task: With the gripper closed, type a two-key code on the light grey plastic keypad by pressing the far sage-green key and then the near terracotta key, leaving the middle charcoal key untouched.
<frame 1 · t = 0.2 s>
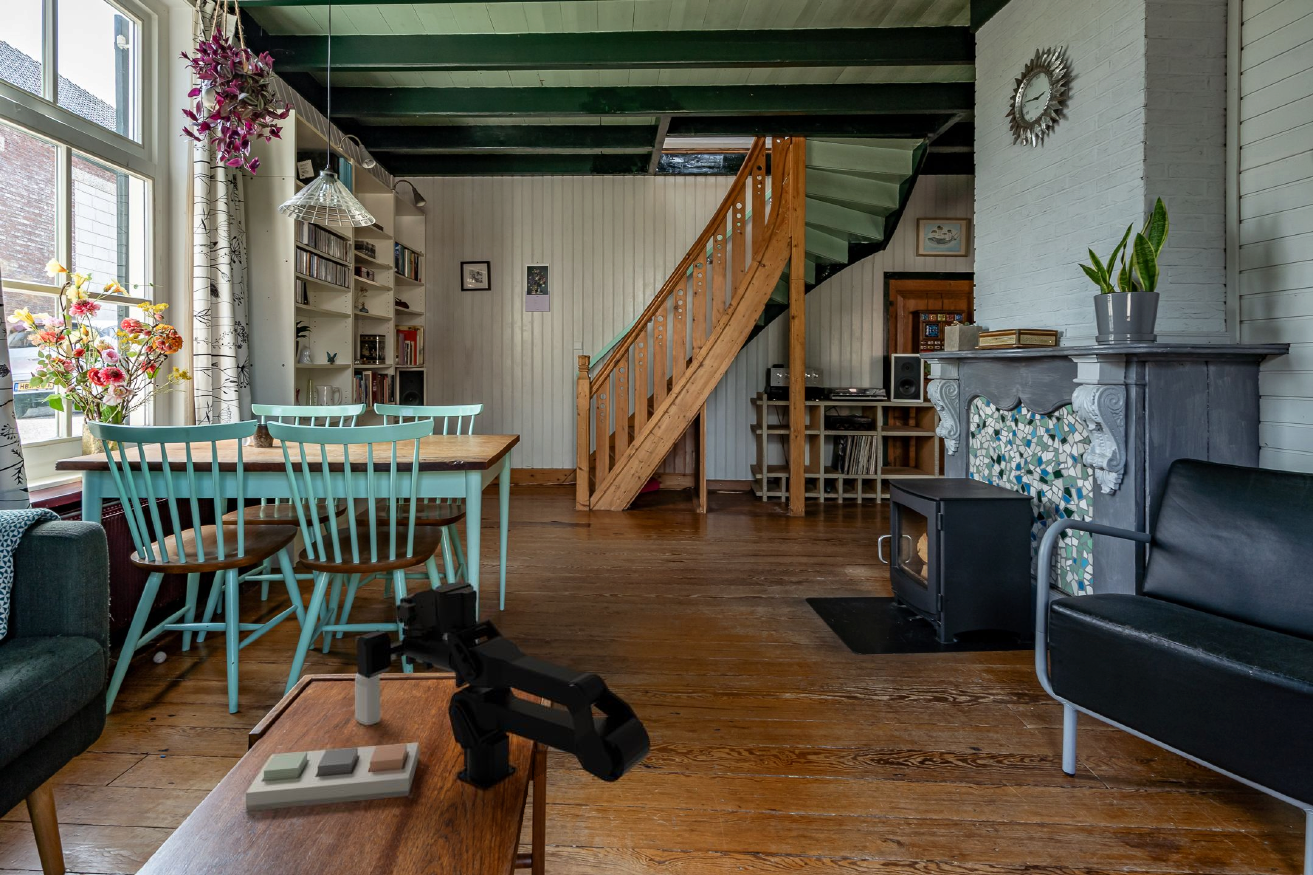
hand: (381, 631, 115), 17 cm above the table, tool horizontal, fingers open, 9 cm apart
sage key: (286, 767, 98), point 3 cm above the table, slide at 0.0 cm
terracotta key: (388, 758, 101), point 3 cm above the table, slide at 0.0 cm
charcoal key: (338, 763, 99), point 3 cm above the table, slide at 0.0 cm
keypad frame: (338, 782, 99), on the table
eye dropper bottle: (367, 720, 119), on the table
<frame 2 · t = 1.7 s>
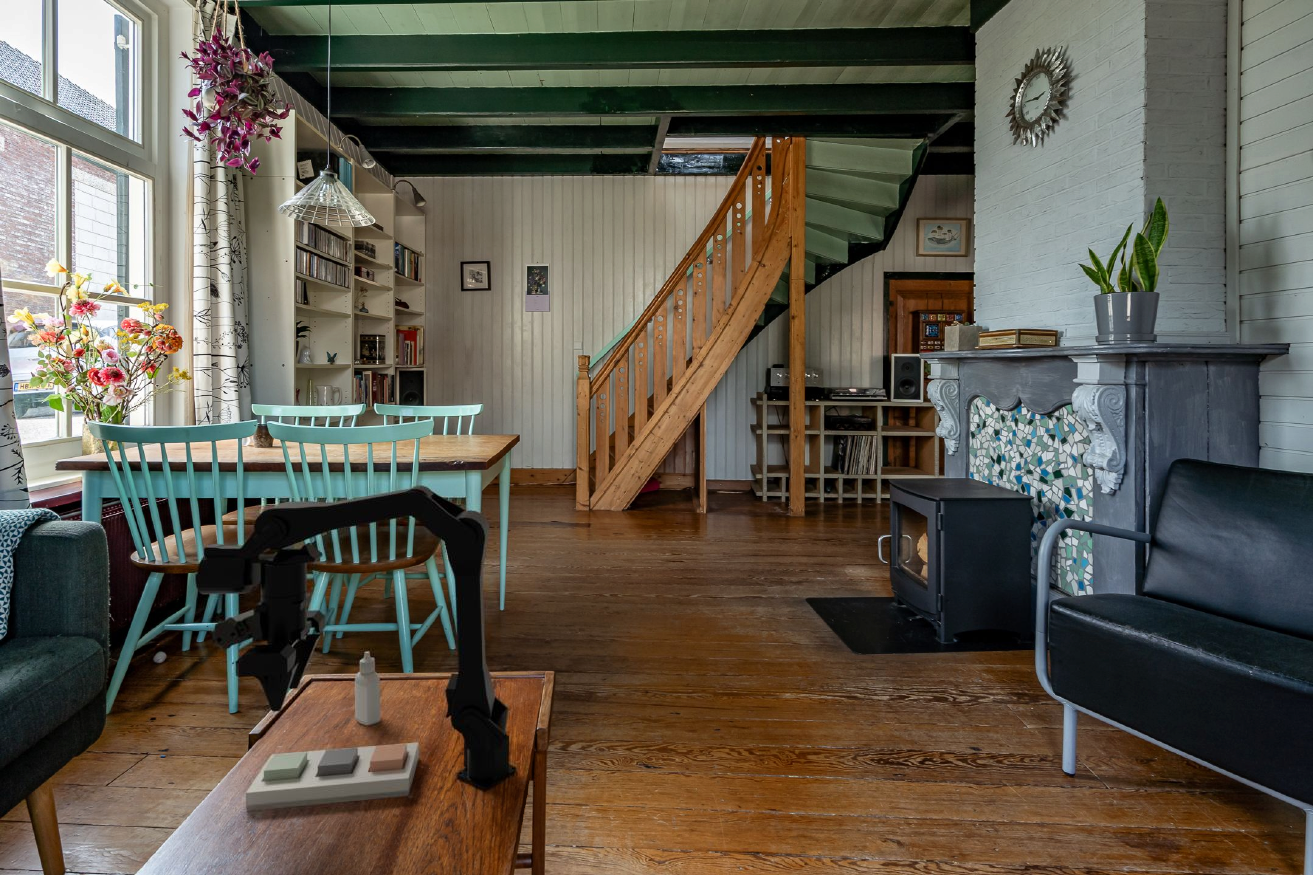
hand: (285, 699, 97), 13 cm above the table, tool pointing down, fingers open, 7 cm apart
nothing on the table moved.
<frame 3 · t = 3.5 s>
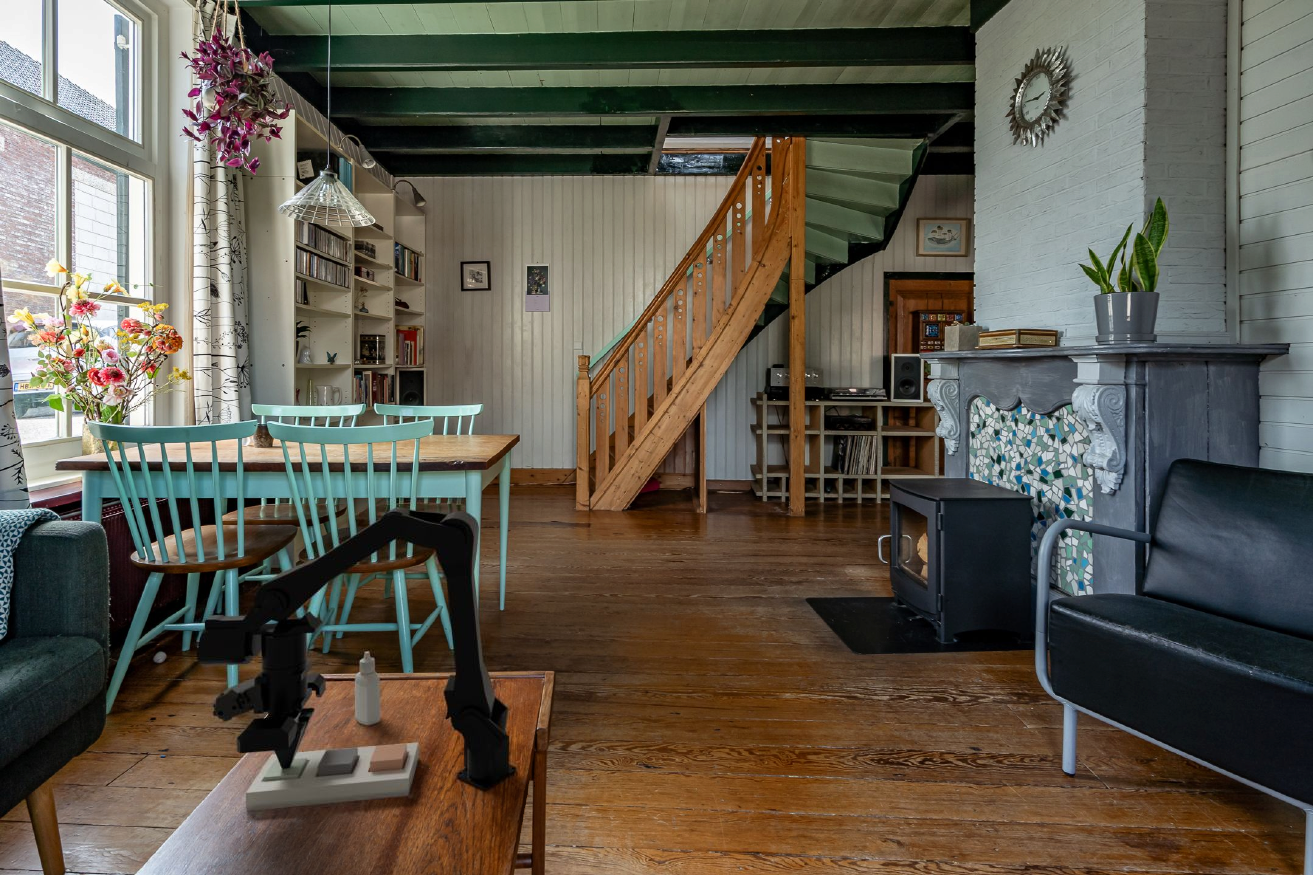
hand: (286, 767, 98), 3 cm above the table, tool pointing down, fingers closed, pressing on sage key
sage key: (286, 773, 98), point 2 cm above the table, slide at 1.0 cm, touching gripper
everything else where it was.
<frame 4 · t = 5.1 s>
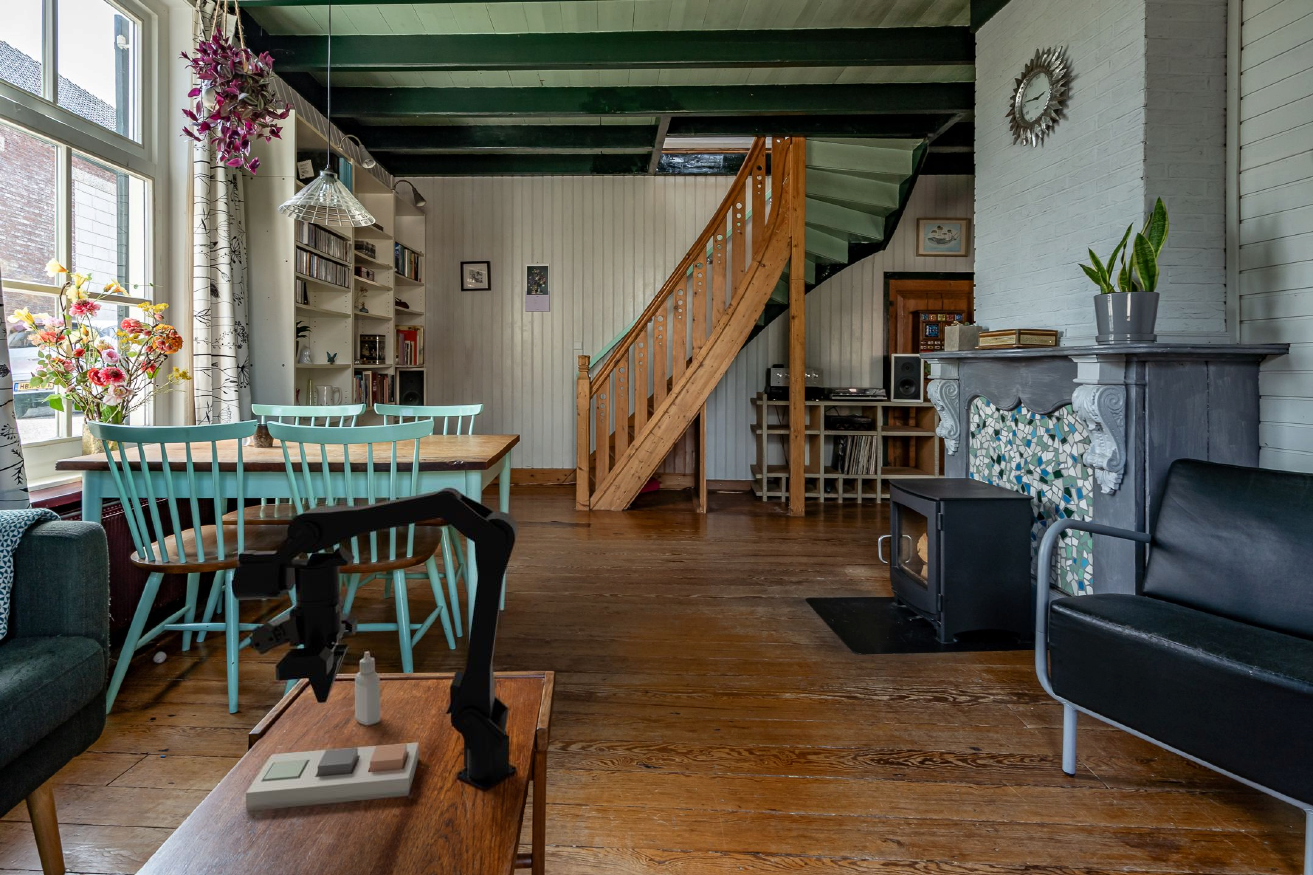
hand: (322, 701, 98), 12 cm above the table, tool pointing down, fingers closed
sage key: (286, 775, 98), point 2 cm above the table, slide at 1.2 cm
everything else where it was.
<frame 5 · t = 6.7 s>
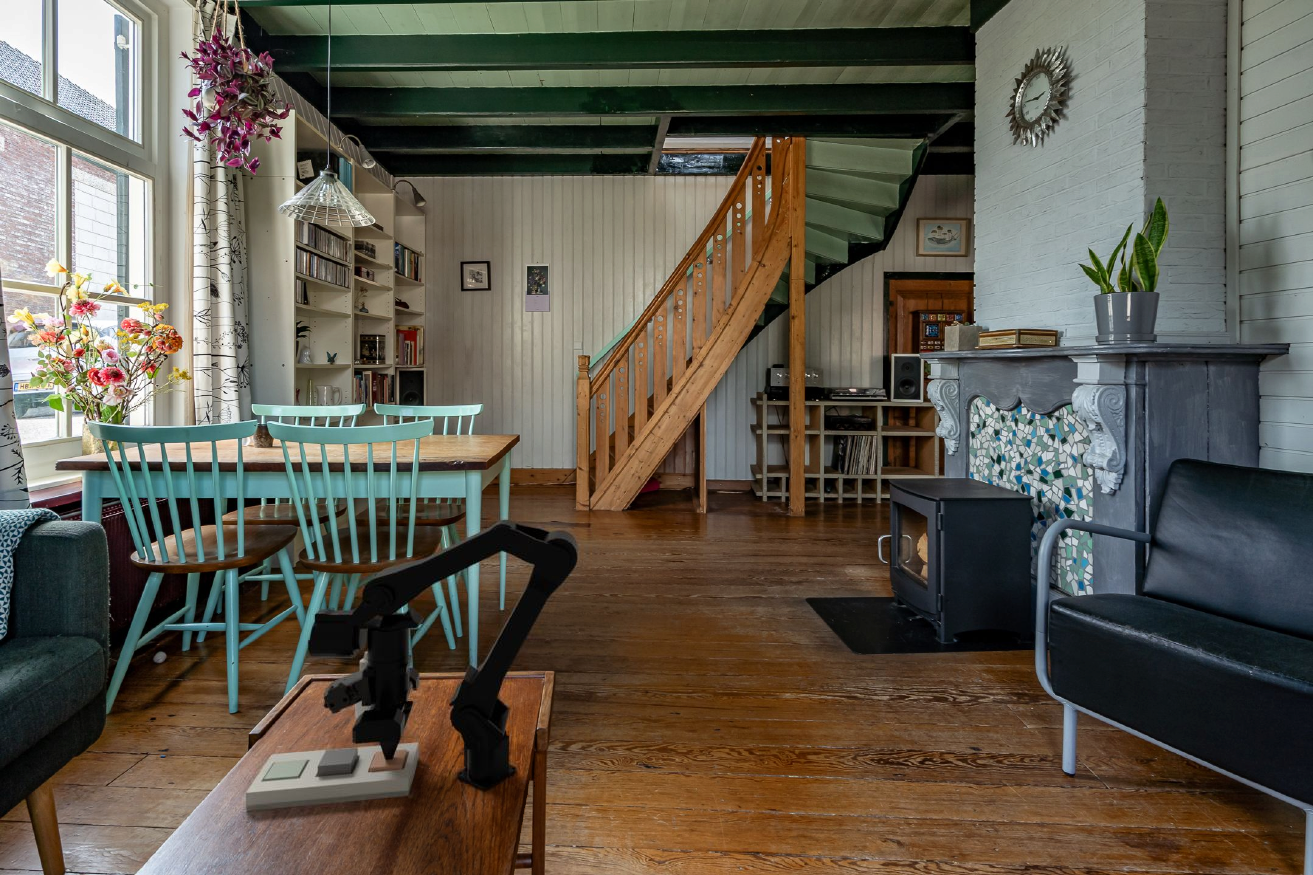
hand: (389, 758, 101), 3 cm above the table, tool pointing down, fingers closed, pressing on terracotta key
terracotta key: (388, 764, 101), point 2 cm above the table, slide at 0.9 cm, touching gripper
everything else where it was.
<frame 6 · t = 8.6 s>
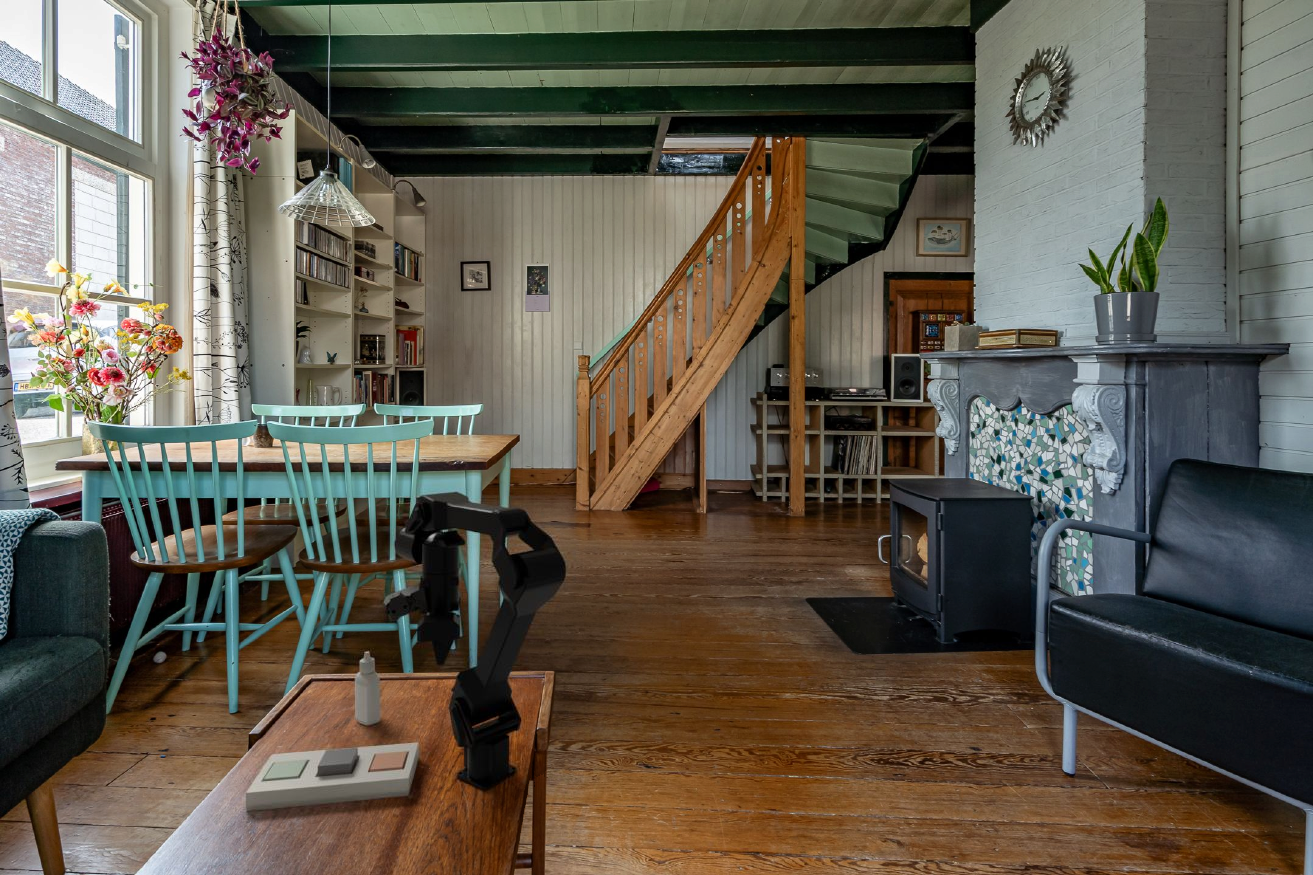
hand: (440, 664, 111), 13 cm above the table, tool pointing down, fingers closed
terracotta key: (388, 766, 101), point 2 cm above the table, slide at 1.2 cm
everything else where it was.
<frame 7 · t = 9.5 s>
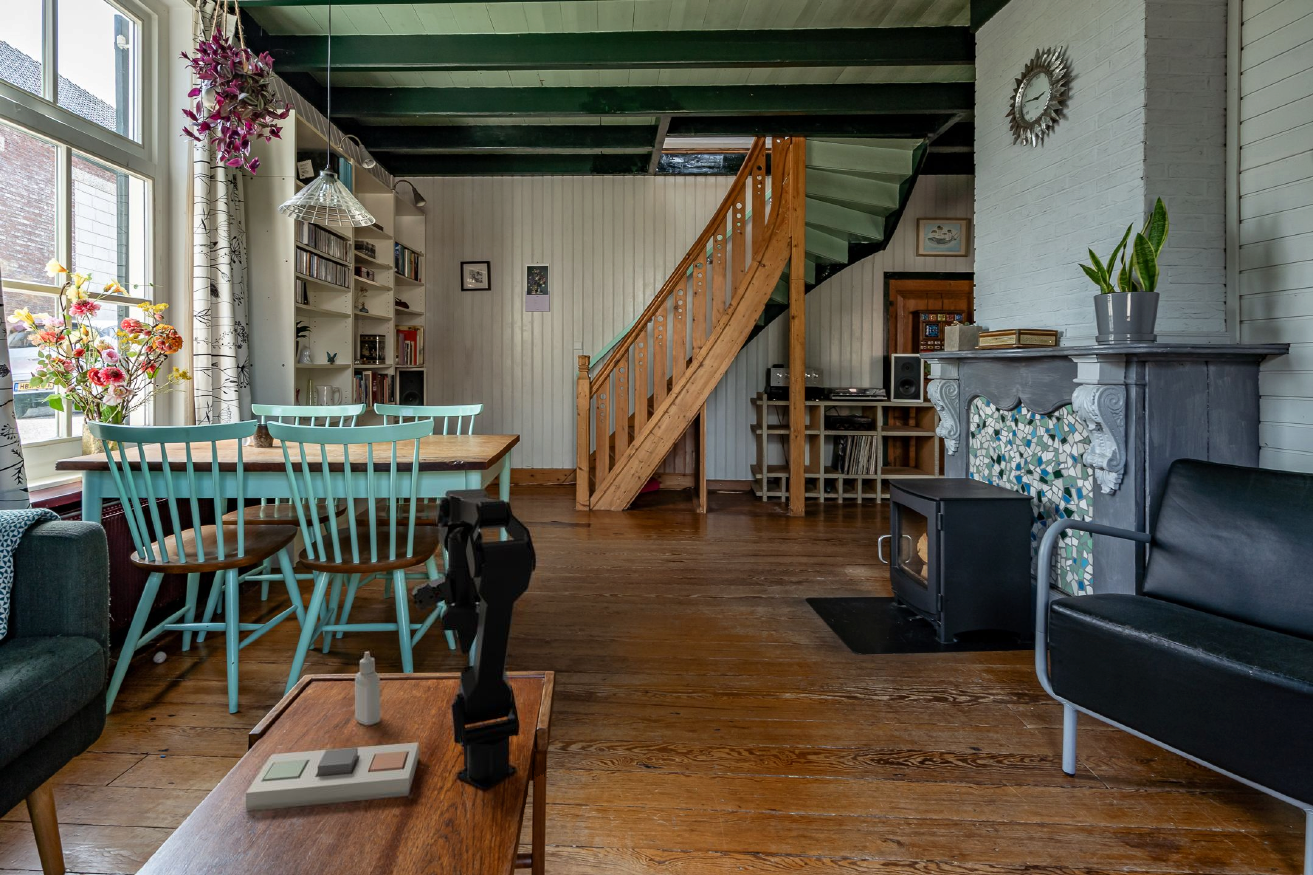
hand: (465, 653, 116), 13 cm above the table, tool pointing down, fingers closed
nothing on the table moved.
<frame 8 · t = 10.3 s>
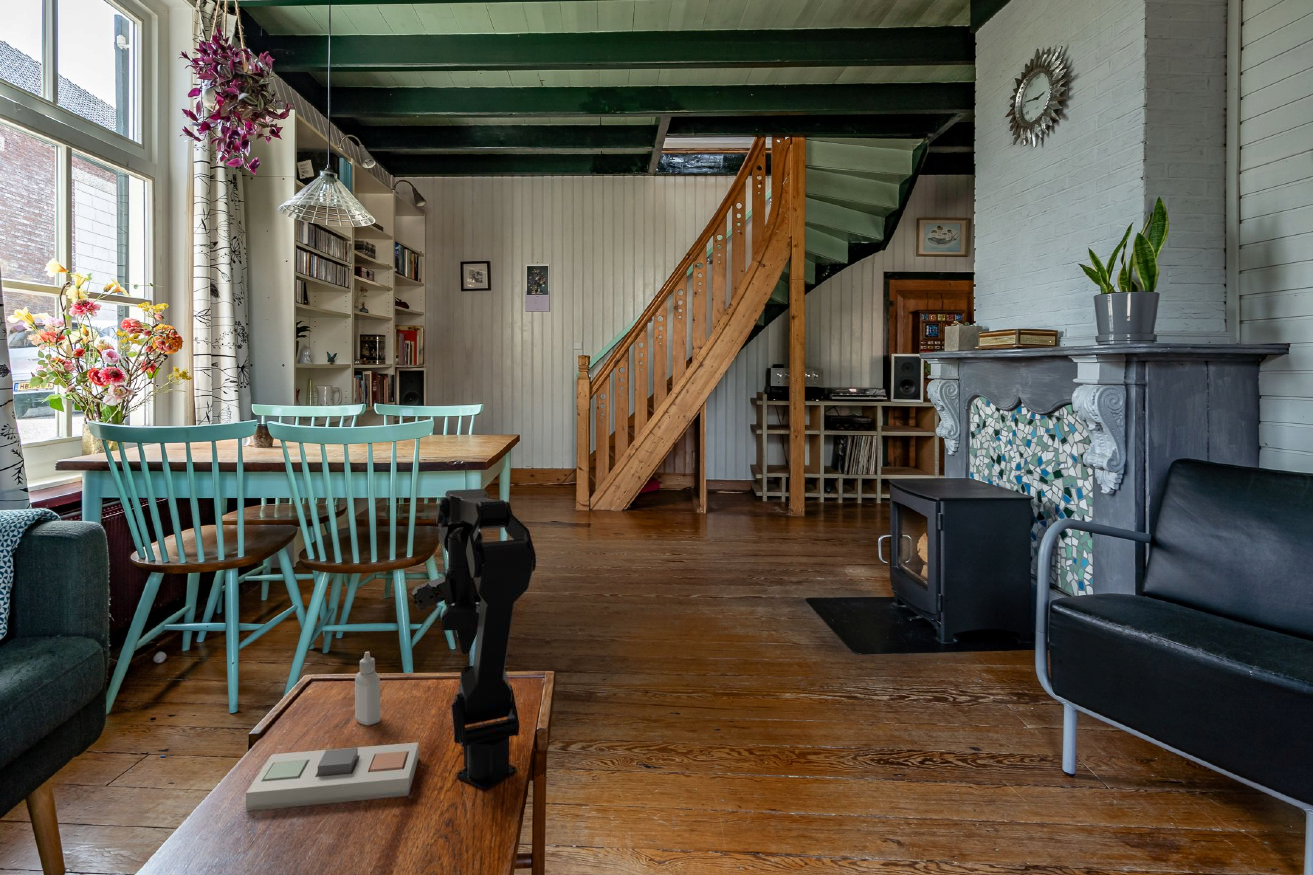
hand: (465, 653, 116), 13 cm above the table, tool pointing down, fingers closed
nothing on the table moved.
at the end: sage key slide at 1.2 cm; terracotta key slide at 1.2 cm; charcoal key slide at 0.0 cm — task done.
